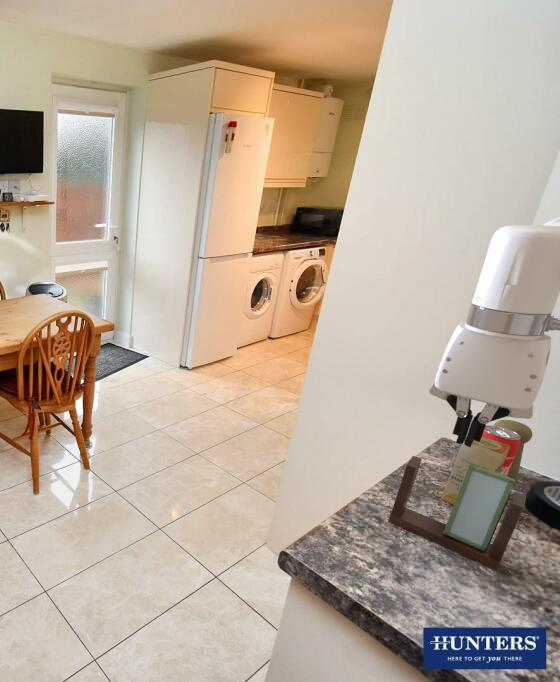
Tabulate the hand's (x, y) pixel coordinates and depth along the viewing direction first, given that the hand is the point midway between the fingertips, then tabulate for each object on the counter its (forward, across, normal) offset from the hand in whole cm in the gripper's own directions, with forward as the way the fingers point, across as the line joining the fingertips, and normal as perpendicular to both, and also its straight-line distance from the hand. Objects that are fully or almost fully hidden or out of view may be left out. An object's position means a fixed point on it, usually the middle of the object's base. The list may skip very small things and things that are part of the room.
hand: (464, 441), depth 65 cm
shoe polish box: (+18, -2, -15) cm, 23 cm away
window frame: (+17, -1, 0) cm, 17 cm away
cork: (+18, -4, -31) cm, 36 cm away
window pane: (+15, -3, 0) cm, 16 cm away
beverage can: (+18, -3, -22) cm, 28 cm away
